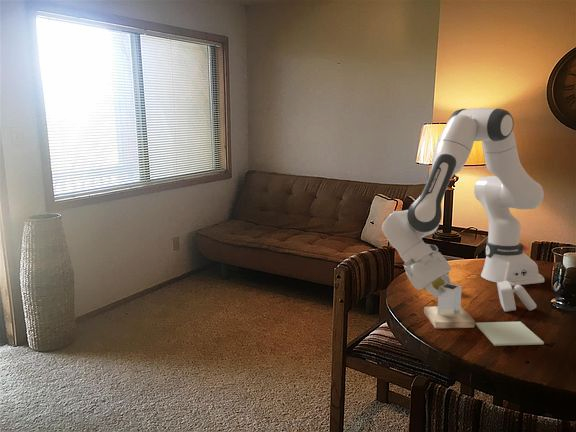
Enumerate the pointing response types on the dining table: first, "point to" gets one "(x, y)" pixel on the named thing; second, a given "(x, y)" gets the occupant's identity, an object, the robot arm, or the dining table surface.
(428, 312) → the peg stand
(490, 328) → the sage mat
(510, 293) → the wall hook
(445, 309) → the steel sleeve
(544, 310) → the dining table surface
